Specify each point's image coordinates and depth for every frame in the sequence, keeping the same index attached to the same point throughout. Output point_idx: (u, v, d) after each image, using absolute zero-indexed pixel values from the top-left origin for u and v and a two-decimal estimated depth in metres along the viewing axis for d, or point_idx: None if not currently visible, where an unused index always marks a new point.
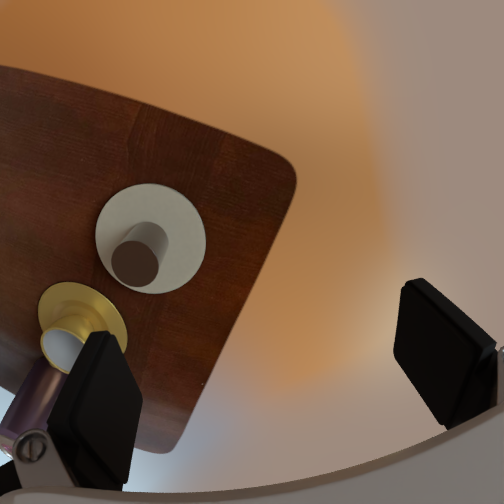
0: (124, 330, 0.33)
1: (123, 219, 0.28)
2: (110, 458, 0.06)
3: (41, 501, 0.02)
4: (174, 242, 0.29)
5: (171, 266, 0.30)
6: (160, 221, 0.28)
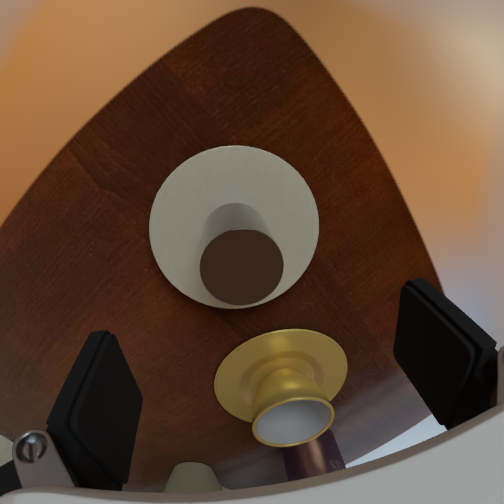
0: (322, 336, 0.25)
1: (187, 246, 0.20)
2: (110, 458, 0.06)
3: (41, 501, 0.02)
4: (256, 199, 0.19)
5: (285, 224, 0.20)
6: (218, 200, 0.19)
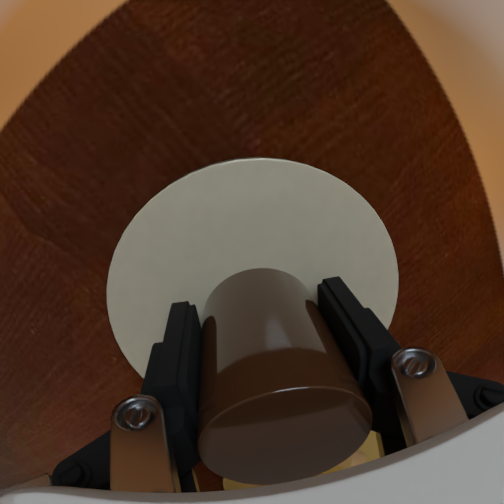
0: None
1: None
2: None
3: (41, 501, 0.02)
4: (301, 260, 0.10)
5: None
6: (229, 263, 0.10)
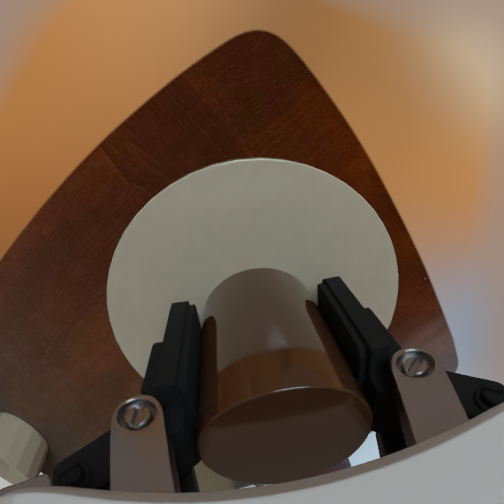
0: None
1: None
2: None
3: (41, 501, 0.02)
4: (301, 260, 0.10)
5: None
6: (229, 263, 0.10)
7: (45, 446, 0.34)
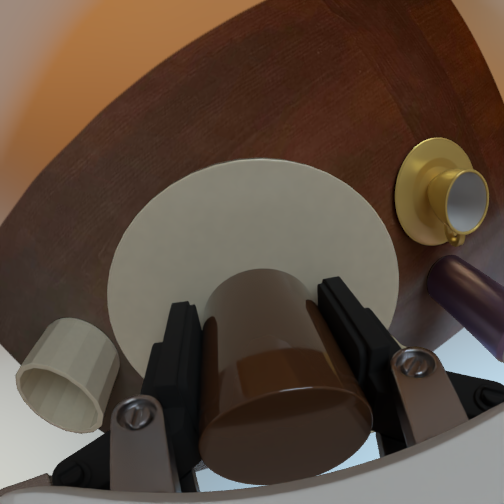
0: (462, 151, 0.28)
1: None
2: None
3: (41, 501, 0.02)
4: (301, 261, 0.10)
5: None
6: (229, 264, 0.10)
7: (118, 365, 0.33)
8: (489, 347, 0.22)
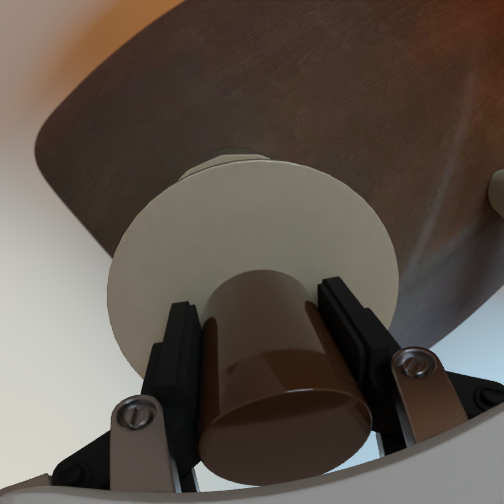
0: None
1: None
2: None
3: (41, 501, 0.02)
4: (301, 262, 0.10)
5: None
6: (229, 265, 0.10)
7: None
8: None
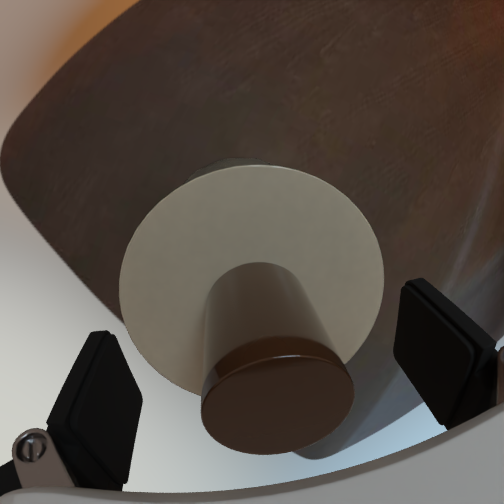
0: None
1: (180, 327, 0.12)
2: (110, 458, 0.06)
3: (41, 501, 0.02)
4: (293, 255, 0.12)
5: (335, 292, 0.13)
6: (229, 258, 0.12)
7: None
8: None
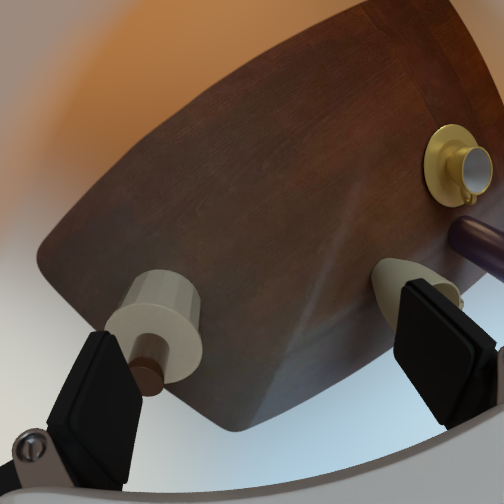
0: (471, 135, 0.35)
1: (126, 352, 0.32)
2: (110, 458, 0.06)
3: (41, 501, 0.02)
4: (160, 331, 0.31)
5: (180, 344, 0.32)
6: (139, 331, 0.31)
7: (201, 312, 0.40)
8: (503, 276, 0.29)
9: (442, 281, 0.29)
